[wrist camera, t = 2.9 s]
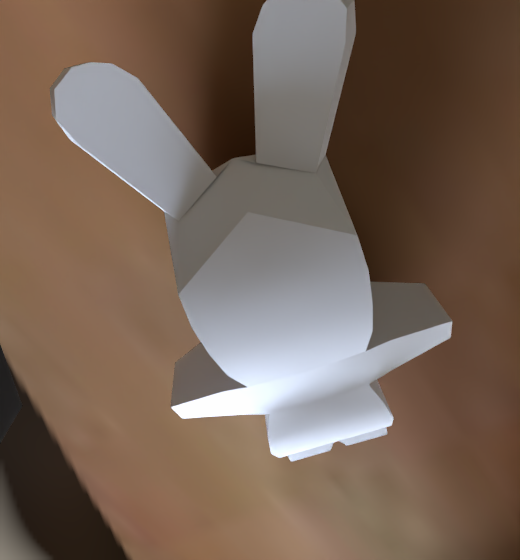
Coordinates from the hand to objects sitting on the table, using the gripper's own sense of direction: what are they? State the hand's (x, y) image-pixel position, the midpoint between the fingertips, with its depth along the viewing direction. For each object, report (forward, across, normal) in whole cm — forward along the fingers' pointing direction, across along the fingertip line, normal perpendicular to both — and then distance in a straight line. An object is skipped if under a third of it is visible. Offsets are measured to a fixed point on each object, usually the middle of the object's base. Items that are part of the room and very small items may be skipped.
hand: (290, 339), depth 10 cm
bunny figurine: (+7, 0, +1) cm, 7 cm away
